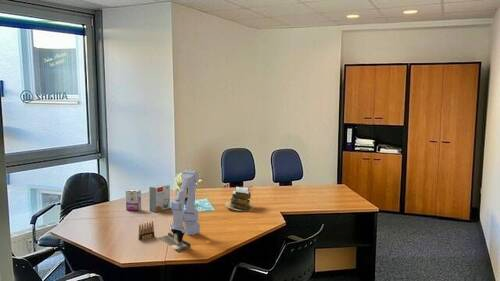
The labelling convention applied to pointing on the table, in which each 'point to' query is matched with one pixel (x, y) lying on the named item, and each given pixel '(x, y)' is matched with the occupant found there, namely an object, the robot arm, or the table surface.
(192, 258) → the table surface
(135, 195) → the candy bar box
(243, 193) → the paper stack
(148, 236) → the ammunition clip
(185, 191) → the robot arm
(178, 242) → the block
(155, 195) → the hard drive box
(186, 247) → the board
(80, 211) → the table surface
